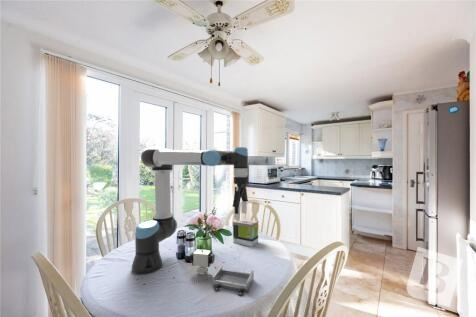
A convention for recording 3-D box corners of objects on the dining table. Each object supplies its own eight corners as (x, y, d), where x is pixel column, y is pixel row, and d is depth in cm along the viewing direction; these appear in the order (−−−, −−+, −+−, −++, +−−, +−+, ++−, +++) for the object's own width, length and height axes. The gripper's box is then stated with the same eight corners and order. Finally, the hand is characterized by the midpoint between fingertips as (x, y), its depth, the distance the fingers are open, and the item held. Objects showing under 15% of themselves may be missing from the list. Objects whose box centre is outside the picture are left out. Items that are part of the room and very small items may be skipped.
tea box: (258, 242, 150) (258, 221, 150) (251, 247, 142) (251, 224, 142) (240, 238, 158) (240, 218, 158) (232, 242, 150) (232, 221, 150)
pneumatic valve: (211, 277, 106) (211, 252, 106) (189, 274, 109) (189, 250, 109) (215, 271, 112) (215, 248, 112) (194, 269, 114) (193, 246, 114)
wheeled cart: (210, 290, 95) (210, 280, 95) (221, 274, 108) (221, 265, 108) (246, 297, 91) (246, 286, 91) (253, 280, 103) (253, 270, 103)
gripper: (241, 178, 102) (241, 223, 102) (252, 174, 126) (252, 211, 126) (226, 178, 104) (226, 222, 104) (240, 174, 128) (240, 210, 128)
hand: (240, 216), depth 115 cm, fingers open, 13 cm apart
